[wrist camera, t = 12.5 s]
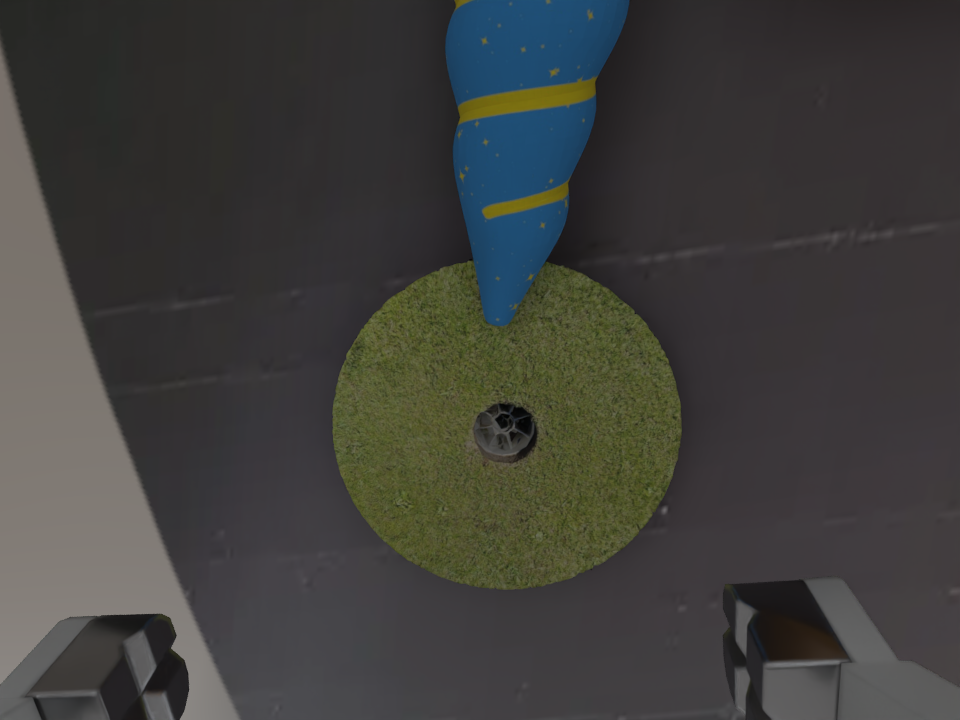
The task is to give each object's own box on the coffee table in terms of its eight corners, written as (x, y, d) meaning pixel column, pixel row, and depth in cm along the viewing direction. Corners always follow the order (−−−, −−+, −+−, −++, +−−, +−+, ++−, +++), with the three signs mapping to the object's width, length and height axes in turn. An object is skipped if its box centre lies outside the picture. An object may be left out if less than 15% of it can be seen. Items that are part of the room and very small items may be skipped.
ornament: (422, 295, 23) (459, -268, 18) (575, 307, 23) (655, -243, 18) (411, 347, 18) (457, -401, 13) (604, 362, 19) (724, -365, 13)
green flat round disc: (280, 419, 25) (260, 438, 23) (498, 179, 22) (496, 177, 21) (510, 618, 26) (510, 651, 24) (737, 410, 24) (757, 429, 22)
